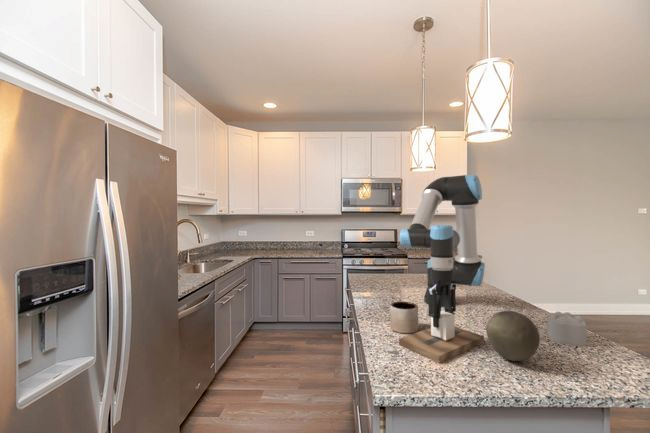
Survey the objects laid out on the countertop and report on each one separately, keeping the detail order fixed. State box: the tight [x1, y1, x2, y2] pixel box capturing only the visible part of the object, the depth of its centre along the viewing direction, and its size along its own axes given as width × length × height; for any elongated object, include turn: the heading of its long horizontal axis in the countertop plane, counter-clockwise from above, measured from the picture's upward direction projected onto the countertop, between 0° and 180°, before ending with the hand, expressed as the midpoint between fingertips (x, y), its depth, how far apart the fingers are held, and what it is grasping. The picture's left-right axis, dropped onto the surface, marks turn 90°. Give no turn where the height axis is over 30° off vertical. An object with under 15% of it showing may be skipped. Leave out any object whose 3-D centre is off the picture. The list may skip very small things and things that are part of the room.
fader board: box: [398, 326, 485, 364], centre depth 105 cm, size 26×16×2 cm, turn 124°
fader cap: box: [430, 310, 456, 340], centre depth 106 cm, size 5×6×8 cm
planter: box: [389, 301, 419, 335], centre depth 120 cm, size 11×11×10 cm
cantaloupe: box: [486, 310, 541, 362], centre depth 93 cm, size 14×14×15 cm
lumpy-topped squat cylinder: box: [546, 311, 588, 347], centre depth 109 cm, size 10×13×9 cm
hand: (442, 334), depth 106 cm, fingers closed on fader cap, 5 cm apart
